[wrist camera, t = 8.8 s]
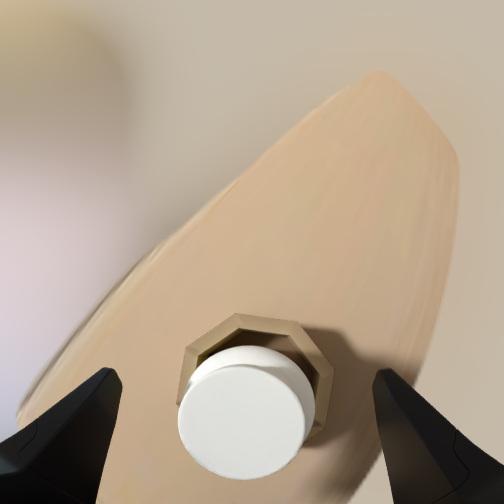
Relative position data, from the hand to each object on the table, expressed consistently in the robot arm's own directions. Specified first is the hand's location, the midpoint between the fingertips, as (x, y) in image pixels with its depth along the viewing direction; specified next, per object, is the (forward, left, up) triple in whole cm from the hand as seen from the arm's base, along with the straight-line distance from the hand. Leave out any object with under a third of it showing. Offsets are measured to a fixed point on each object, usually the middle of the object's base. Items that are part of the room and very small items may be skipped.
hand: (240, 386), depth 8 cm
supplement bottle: (-1, 0, -9) cm, 9 cm away
